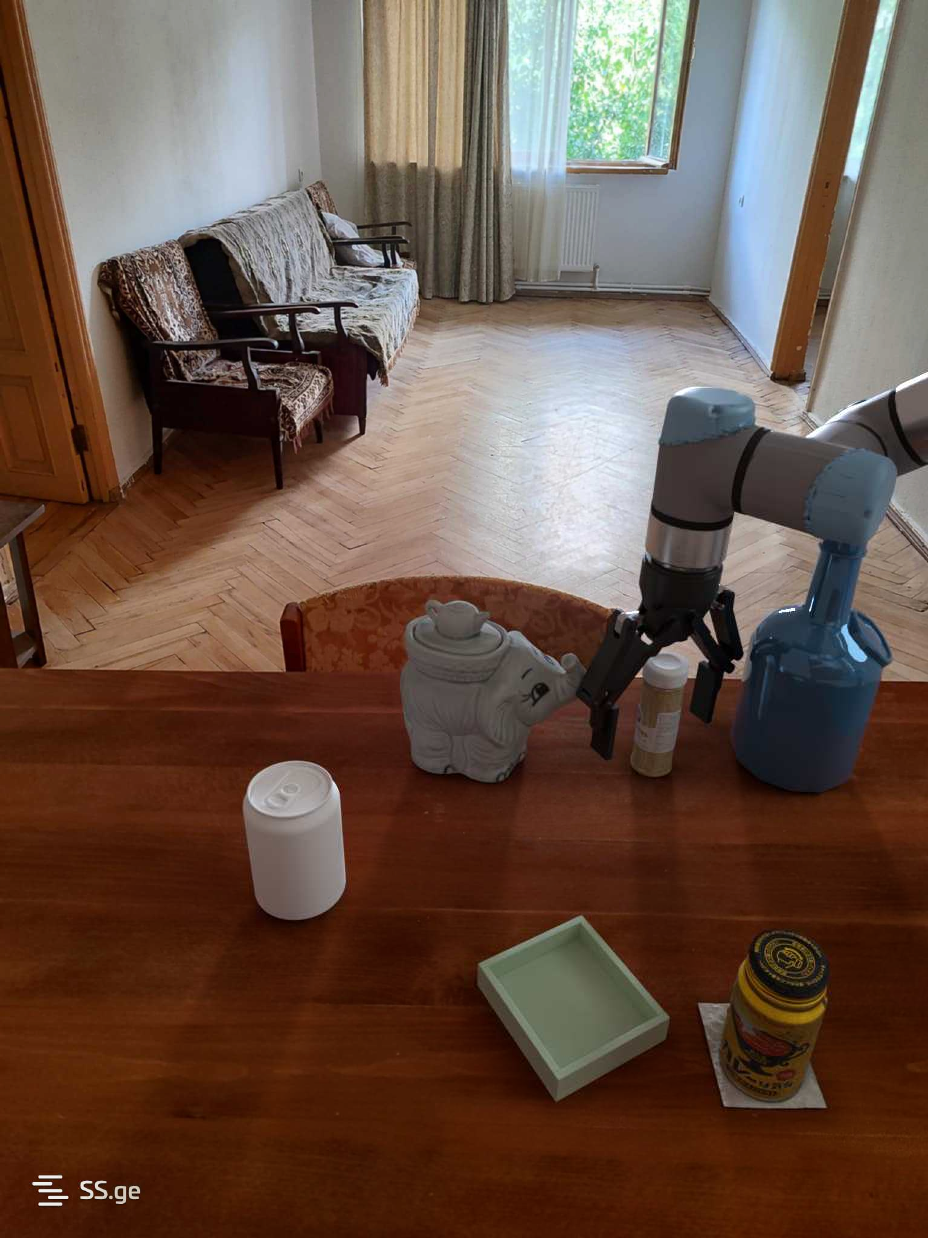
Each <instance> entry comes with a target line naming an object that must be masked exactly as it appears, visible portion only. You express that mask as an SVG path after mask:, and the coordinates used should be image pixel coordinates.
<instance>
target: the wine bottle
mask: <svg viewBox="0 0 928 1238" xmlns="http://www.w3.org/2000/svg"><path fill="white" fill-rule="evenodd" d="M868 546H869V541H868V542H866V543H864V544H861V545H852V544H847V543H842V542H837V541H833V540H823V539H820V540H819V542H818V543H817V547H818V548H819V550H818V553H817V558H816V561H815V565H814V568H813V572H812V576H811V579H810V583H809V586H808V590H807V593H806V597H805V599H804V601H801V602H796V603H793V604H790V605H786V606H781V607H779V608H775V609H773V610H771V611H769V612H768V613H767V614H766V615H765V616H764V617H763V618H762V620H761V621H760V622H759V624H758V625H757V627H756V628H755V630H754V631H753V632H752V634H751V635H750V638H749V642H748V646H747V651H746V656H745V661H744V666H743V671H742V677H741V681H740V685H739V689H738V695H737V699H736V700H737V701H736V705H735V710H734V714H733V720H732V725H731V730H730V734H729V738H730V741H731V744H732V748H733V752H734V753H735V757H736V760H737V762H738V764H739V765H741V766H742V767H743V768H744V769H746V770H747V771H748V772H749V773H750V774H752V775H753V776H754V777H756V778H757V779H758V780H759V781H761V782H765V783H767V784H769V785H773V786H775V787H778V788H781V789H783V790H786V791H788V792H799V793H800V792H802V793H824V792H826V791H829V790H831V789H834V788H837V787H839V786H842V785H845V783H846V782H848V781H849V780H850V778H851V776H852V773H853V771H854V768H855V767H856V765H857V762H858V758H859V755H860V752H861V748H862V745H863V742H864V739H865V735H866V731H867V729H868V725H869V722H870V718H871V715H872V712H873V709H874V705H875V701H876V698H877V695H878V691H879V688H880V685H881V681H882V678H883V675H884V672H885V668H886V667H888V666H889V665H891V664H892V663H893V658H894V657H893V654H892V651H891V648H890V646H889V644H888V641H887V639H886V638H885V636H884V634H883V633H882V631H881V629H880V628H879V627H878V625H877V624H876V623H875V622H874V620H873V619H871V617H869V616H868V615H866V614H865V613H863V612H862V611H861V610H859V609H858V608H856V607H855V608H853V606H854V601H855V596H856V593H857V592H856V591H857V587H858V583H859V579H860V578H859V577H860V573H861V568H862V565H863V559H864V558H865V557H866V555H867V554H868V553H869V550H868Z"/></svg>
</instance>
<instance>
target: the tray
mask: <svg viewBox="0 0 928 1238" xmlns="http://www.w3.org/2000/svg"><path fill="white" fill-rule="evenodd" d="M476 983H477V984H476V985H477V987H478V988H479V990H480V991H481V993H482V994H483V996H484V998H485V999H486V1000H487V1002H488V1004H489V1005H490V1006H491V1008H492V1009H493V1010H494V1012H495V1013H496V1015H497V1017H498V1018H499V1020H500V1021H501V1023H502V1024H503V1026H504V1027H505V1029H506V1031H508V1033H509V1034H510V1036H511V1038H512V1039H513V1041H514V1042H515V1043H516V1045H517V1047H518V1048H519V1050H520V1051H521V1052H522V1054H523V1056H524V1057H525V1059H526V1060H527V1062H528V1063H529V1064H530V1066H531V1068H532V1069H533V1070H534V1072H535V1073H536V1075H537V1076H538V1078H539V1080H540V1081H541V1082H542V1084H543V1085H544V1087H545V1088H546V1090H547V1091H548V1092H549V1094H550V1096H551V1097H552V1099H553V1100H554V1102H555V1103H557V1102H559V1101H561V1100H563V1099H565V1098H566V1097H568V1096H569V1095H571V1094H573V1093H575V1092H576V1091H578V1090H580V1089H581V1088H583V1087H585V1086H587V1085H589V1084H590V1083H592V1082H594V1081H596V1080H597V1079H599V1078H601V1077H602V1076H604V1075H606V1074H608V1073H610V1072H612V1071H613V1070H615V1069H617V1068H618V1067H621V1066H622V1065H623V1064H625V1063H627V1062H629V1061H631V1060H632V1059H634V1058H636V1057H638V1056H639V1055H641V1054H643V1053H645V1052H647V1051H648V1050H650V1049H651V1048H653V1047H655V1046H657V1045H659V1044H660V1043H662V1042H664V1041H665V1040H666V1039H667V1034H668V1029H669V1024H670V1020H671V1017H670V1016H669V1014H667V1012H666V1011H665V1010H664V1009H663V1008H662V1007H661V1005H660V1004H659V1003H658V1002H657V1001H656V999H655V998H654V997H653V996H652V995H651V994H650V993H649V991H648V990H647V989H646V988H645V987H644V986H643V984H641V982H640V981H639V980H638V978H637V977H636V976H635V975H634V974H633V973H632V972H631V971H630V970H629V968H628V967H627V966H626V965H625V963H624V962H623V961H622V960H621V959H620V958H619V957H618V956H617V955H616V953H615V952H614V950H612V948H611V947H610V946H609V945H608V944H607V943H606V941H605V940H604V939H603V938H602V937H601V936H600V934H599V933H598V932H597V931H596V930H595V929H594V928H593V926H592V924H590V923H589V922H588V921H587V919H586V918H585V917H584V916H583V915H582V914H581V915H579V916H576V917H575V918H572V919H570V920H569V921H566V922H564V923H562V924H560V925H558V926H556V927H554V928H551V929H549V930H546V931H545V932H543V933H541V934H539V935H537V936H534V937H532V938H530V939H527V940H526V941H523V942H521V943H519V944H517V945H515V946H513V947H511V948H508V949H506V950H504V951H502V952H500V953H498V954H496V955H494V956H492V957H490V958H487V959H485V960H483V961H481V962H478V964H477V981H476Z"/></svg>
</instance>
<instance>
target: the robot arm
mask: <svg viewBox="0 0 928 1238" xmlns="http://www.w3.org/2000/svg"><path fill="white" fill-rule="evenodd" d="M664 414H665V415H664V419H663V425H662V428H661V433H660V437H659V439H658V442H657V445H658V453H657V459H656V468H655V476H654V483H653V490H652V498H651V501H650V509H649V515H648V520H647V526H646V527H647V528H646V533H645V534H646V535H645V541H644V548H645V551H644V552H643V554H642V558H641V566H640V572H639V578H638V587H639V591H640V595H641V602H640V604H639V606H638V608H636V611H631V612H630V611H629V612H625V611H624V610H622V609H621V608H616V609H615V610H614V611H613V612H612V614H611V617H610V622H609V625H608V630H607V632H606V634H605V636H604V638H603V640H602V642H601V643H600V645H599V647H598V649H597V650H596V653H595V655H594V657H593V659H592V660H591V661H590V664H589V666H588V667H587V670H586V671H587V672H586V674H585V675H584V677H583V679H582V681H581V683H580V685H579V687H578V689H577V691H576V693H575V695H576V697H578V700H579V701H581V702H582V703H583V704H584V705H585V706H586V707H587V708H589V709H590V713H589V720H588V725H589V727H590V728H591V729H592V730H591V738H590V745H589V746H590V748H591V749H592V750H593V751H594V752H595V753H597V754H598V755H599V756H600V757H601V759H603V760H604V761H605V762H609V761H611V760H613V755H614V748H615V743H616V734H617V727H618V723H619V714H620V707H619V706H618V705H617V704H616V703H617V702H618V700H619V699H620V698H621V696H622V695H623V694H624V693H625V691H626V690H627V689H628V687H629V686H630V685H631V684H632V682H633V680H634V679H635V678H636V677H637V675H639V673H640V671H641V670H642V669H643V666H644V665H645V664H646V662H647V661H648V660H649V658H650V657H655V656H657V655H658V653H659V652H660V651H662V650H663V649H665V648H667V647H670V646H672V645H674V644H676V643H684V642H686V641H688V640H689V638H690V639H691V640H692V641H693V643H694V644H695V645H696V647H697V648H698V649H699V651H700V652H701V653H702V655H703V656H704V657H705V659H706V660H708V661H706V660H701V661H699V662H698V664H697V670H696V675H695V679H694V684H693V690H692V693H691V694H692V695H691V700H690V705H689V708H688V709H689V710H688V712H690V713H691V714H692V715H693V716H695V717H696V718H698V719H699V720H700V721H701V722H702V723H703V724H705V725H707V724H710V723H712V720H713V716H714V711H715V707H716V703H717V697H718V694H719V692H720V690H721V689H722V685H723V681H724V676H725V673H726V674H728V675H731V674H732V673H733V672H734V671H735V670H736V664H735V663H733V661H736V662H740V661H741V660H742V659H743V658H744V655H745V652H744V648H743V644H742V640H741V636H740V631H739V627H738V622H737V619H736V613H735V611H734V606H735V599H736V593H735V591H733V590H732V589H729V588H728V587H726V585H723V584H722V583H721V581H722V575H723V570H724V564H723V562H724V561H725V560H726V558H727V555H728V554H727V553H728V550H729V549H728V548H729V543H730V538H731V532H732V527H733V522H734V518H735V513H737V514H739V515H743V516H748V517H751V518H755V519H758V520H762V521H764V522H768V523H771V524H773V525H774V524H775V525H777V526H781V527H784V528H788V529H791V530H794V531H797V532H801V533H805V534H808V535H810V536H812V537H813V538H815V539H820V540H821V539H823V540H833V541H837V542H842V543H847V544H852V545H861V544H864V543H866V542H868V543H869V541H871V540H872V539H873V538H874V536H875V535H876V533H877V532H878V529H879V527H880V525H882V523H883V521H884V519H885V517H886V514H887V512H888V510H889V507H890V504H891V501H892V498H893V495H894V491H895V488H896V484H897V479H898V478H899V477H902V476H904V475H907V474H910V473H911V472H914V471H916V470H919V469H921V468H924V467H926V466H928V372H925V373H923V374H921V375H919V376H917V377H915V378H912V379H910V380H907V381H905V382H904V383H902V384H899V385H898V386H897V387H895V388H893V389H890V390H887V391H884V392H883V393H880V394H877V395H876V396H874V397H869V398H866V399H861V400H858V401H855V402H854V403H851V404H849V405H847V406H846V407H844V408H842V409H840V410H839V411H838V412H836V414H834V416H832V417H831V418H830V419H829V420H828V421H826V422H825V423H824V424H822V425H821V426H819V427H818V428H816V429H815V430H814V431H811V432H810V433H809V434H807V435H806V436H802V435H798V434H792V433H787V432H783V431H777V430H774V429H771V428H767V427H766V426H762V425H758V424H756V418H757V417H756V404H755V402H754V399H752V398H751V397H750V396H749V395H747V394H745V393H744V394H743V393H739V391H737V390H733V389H729V388H724V387H717V386H694V387H688V388H685V389H682V390H680V391H678V392H676V393H674V395H672V396H671V397H670V398H669V400H668V403H667V405H666V409H665V413H664ZM708 612H709V615H710V619H711V623H712V627H713V630H714V635H715V638H716V639H715V638H714V636H713V635H712V631H711V630H710V628H709V627H708V626H707V624H706V623H705V620H704V619H705V617H706V615H707V614H708ZM643 635H645V636H646V637H647V639H648V640H650V641H651V643H649V644H648V643H647V642H645V641H644V640H643V639H642V637H643Z"/></svg>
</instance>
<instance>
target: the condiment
mask: <svg viewBox="0 0 928 1238" xmlns="http://www.w3.org/2000/svg"><path fill="white" fill-rule="evenodd" d="M747 953H748V954H747V955H746V958H745V959H744V960H743V961H742V963H741V964H740V965H739V967H738V970H737V972H736V973H737V974H736V977H735V981H734V983H733V985H732V994H731V996H730V999H729V1003H711V1002H698V1003H697V1005H698V1009H699V1012H700V1017H701V1020H702V1024H703V1029H704V1031H705V1036H706V1040H707V1044H708V1049H709V1053H710V1057H711V1061H712V1065H713V1068H714V1074H715V1077H716V1081H717V1085H718V1088H719V1093H720V1098H721V1101H722V1103H723V1106H724V1107H725V1108H750V1109H805V1108H807V1109H815V1108H816V1109H827V1108H828V1107H827V1105H826V1102H825V1098H824V1096H823V1093H822V1091H821V1089H820V1086H819V1084H818V1080H817V1077H816V1074H815V1071H814V1069H813V1066H812V1062H811V1057H812V1053H813V1051H814V1048H815V1044H816V1042H817V1039H818V1035H819V1032H820V1029H821V1026H822V1023H823V1019H824V1017H825V1013H826V1010H827V1007H828V994H827V989H828V987H827V986H828V983H829V980H830V976H831V970H830V962H829V960H828V958H827V956H826V953H825V952H824V950H823V949H822V948H821V947H820V945H819V944H818V943H816V942H815V940H812V939H811V938H809V937H808V936H805V935H804V934H801V933H799V932H797V931H794V930H791V929H785V928H772V929H771V928H770V929H765V930H763V931H762V932H761V933H759V934H757V935H756V936H754V937H753V939H752V942H751V943H750V944H749V948H748V951H747Z"/></svg>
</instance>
